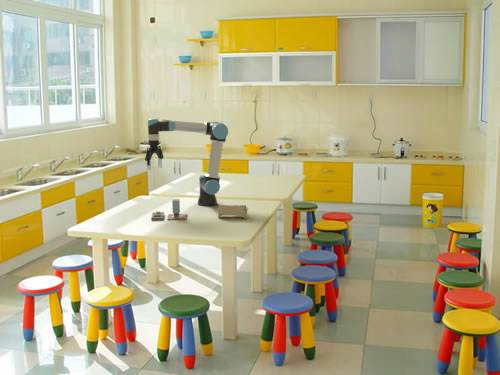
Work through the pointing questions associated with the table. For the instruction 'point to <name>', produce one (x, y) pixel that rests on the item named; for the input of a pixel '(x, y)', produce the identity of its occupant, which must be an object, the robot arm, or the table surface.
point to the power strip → (157, 216)
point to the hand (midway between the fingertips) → (154, 168)
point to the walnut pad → (181, 217)
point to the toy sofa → (232, 210)
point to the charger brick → (176, 207)
